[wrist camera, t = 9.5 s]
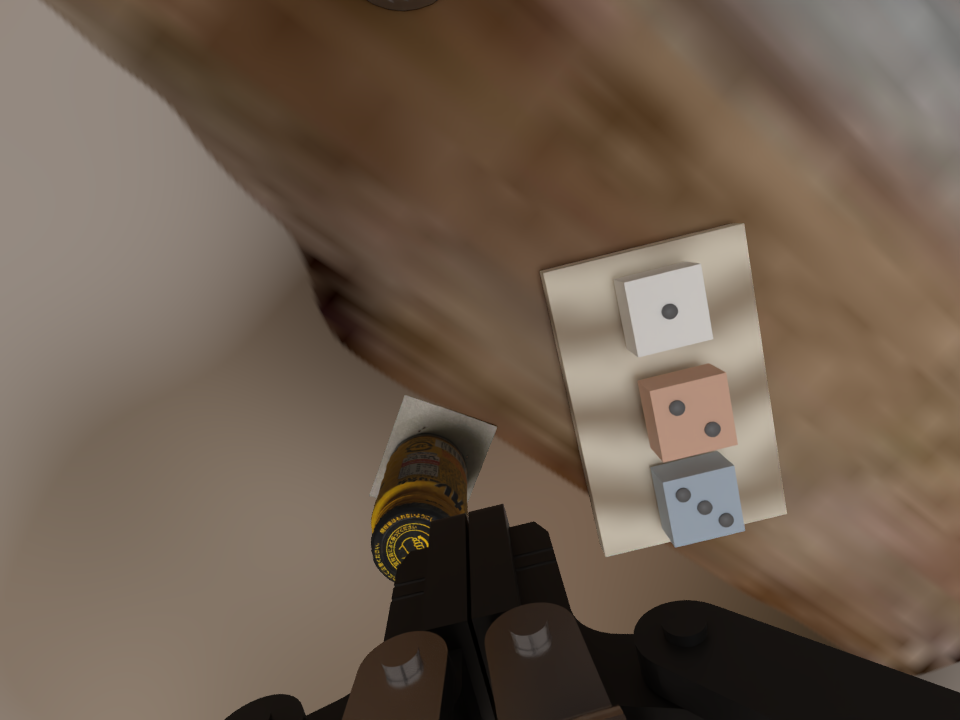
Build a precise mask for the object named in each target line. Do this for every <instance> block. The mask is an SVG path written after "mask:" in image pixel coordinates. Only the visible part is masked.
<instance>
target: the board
mask: <svg viewBox="0 0 960 720" xmlns="http://www.w3.org/2000/svg"><path fill="white" fill-rule="evenodd" d="M685 261H686V262H693V263H699V264H701V267H702V273H703V279H704V285H705V291H706V297H707V303H708V309H709V316H710V322H711V328H712V334H713V339H712V340H708V341H704V342H700V343H696V344H692V345H687V346H683V347H679V348H675V349H671V350H667V351H663V352H659V353H655V354H651V355H647V356H642V357H637V356H636V355H634V354H633V353H631V352H630V351H629V350H627V347H626V342H625V336H624V331H623V326H622V321H621V316H620V311H619V306H618V301H617V296H616V291H615V286H614V280H613V279H616V278H620V277H624V276H628V275H632V274H636V273H640V272H644V271H648V270H652V269H656V268H660V267H664V266H668V265H673V264H677V263H681V262H685ZM540 276H541V280H542V285H543V289H544V294H545V298H546V303H547V307H548V312H549V316H550V321H551V325H552V330H553V334H554V339H555V343H556V348H557V352H558V357H559V361H560V366H561V371H562V375H563V380H564V384H565V389H566V393H567V398H568V402H569V407H570V411H571V416H572V420H573V425H574V429H575V434H576V438H577V443H578V447H579V452H580V456H581V461H582V465H583V470H584V474H585V479H586V483H587V488H588V492H589V497H590V501H591V506H592V510H593V515H594V519H595V524H596V529H597V533H598V538H599V542H600V545H601V547H602V550H603V552H604V554H605V556H606V557H608V556H612V555H616V554H621V553H625V552H629V551H633V550H637V549H642V548H645V547H650V546H654V545H658V544H663V543H667V542H671V541H670V539H669V538H668V536H667V535H666V533H665V532H664V530H663V529H662V525H661V520H660V514H659V509H658V504H657V499H656V494H655V489H654V484H653V479H652V474H651V469H650V467H653V466H657V465H661V464H666V463H670V462H674V461H678V460H682V459H686V458H690V457H695V456H699V455H703V454H707V453H711V452H715V451H718V452H719V453H720V454H722V455H723V456H724V457H725V458H726V459H727V460H729V461H730V462H731V463H732V464H733V465H734V467H735V473H736V479H737V485H738V491H739V497H740V503H741V509H742V515H743V521H744V524H746V523H751V522H755V521H759V520H763V519H767V518H772V517H776V516H780V515H784V514H787V511H786V504H785V497H784V491H783V484H782V477H781V470H780V464H779V457H778V450H777V443H776V436H775V430H774V423H773V416H772V409H771V403H770V396H769V389H768V382H767V375H766V369H765V362H764V355H763V348H762V342H761V335H760V328H759V321H758V314H757V308H756V301H755V294H754V287H753V281H752V274H751V267H750V260H749V253H748V247H747V240H746V233H745V226H744V223H731V224H727V225H723V226H719V227H715V228H711V229H707V230H703V231H699V232H695V233H691V234H687V235H683V236H679V237H675V238H671V239H667V240H663V241H659V242H655V243H651V244H646V245H642V246H638V247H634V248H630V249H626V250H622V251H618V252H614V253H610V254H606V255H602V256H598V257H594V258H590V259H586V260H582V261H578V262H574V263H570V264H566V265H562V266H558V267H554V268H550V269H546V270H542V271H540ZM708 363H709V364H711V365H713V366H715V367H717V368H719V369H721V370H722V371H724V372H726V374H727V380H728V386H729V393H730V399H731V405H732V411H733V417H734V424H735V430H736V436H737V442H738V445H735V446H731V447H727V448H722V449H718V450H714V451H710V452H706V453H702V454H697V455H693V456H689V457H685V458H681V459H677V460H673V461H668V462H664V463H663V462H662V461H661V459H660V458H659V457H658V456H657V455H656V454H655V453H654V451H653V450H652V449H651V448H650V443H649V438H648V433H647V428H646V422H645V417H644V412H643V407H642V402H641V397H640V392H639V387H638V380H642V379H646V378H650V377H654V376H658V375H663V374H667V373H671V372H675V371H679V370H683V369H687V368H691V367H695V366H699V365H704V364H708Z"/></svg>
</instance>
